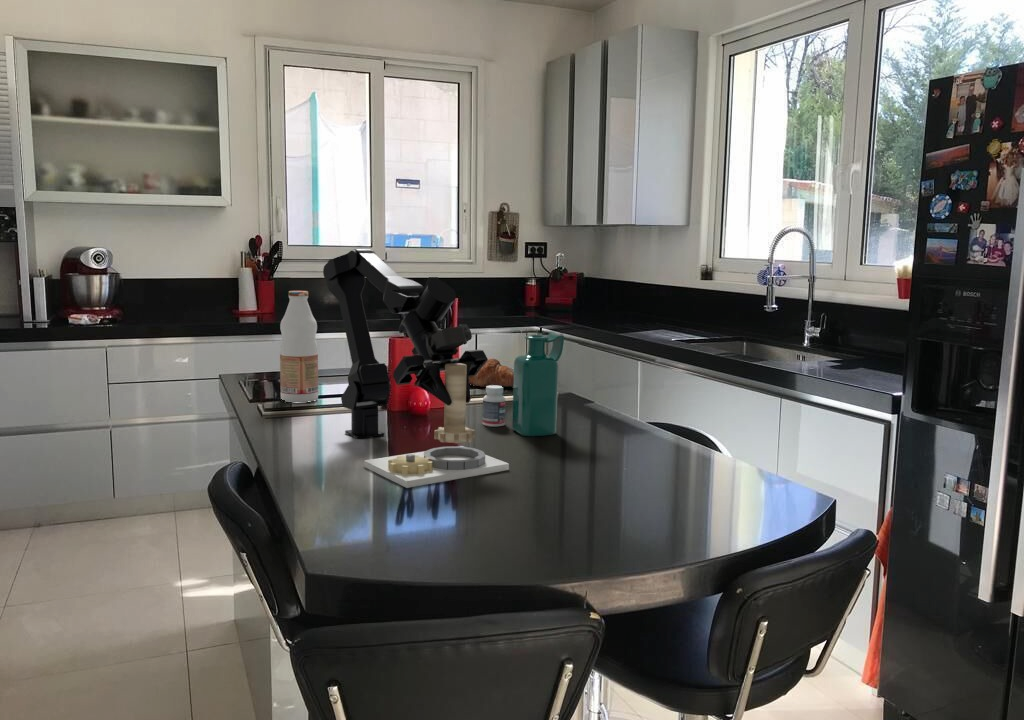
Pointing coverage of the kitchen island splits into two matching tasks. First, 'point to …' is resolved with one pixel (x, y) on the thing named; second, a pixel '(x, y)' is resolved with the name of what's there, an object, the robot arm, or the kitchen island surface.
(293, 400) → the fruit juice
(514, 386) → the pitcher
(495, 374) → the pastry
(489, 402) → the pill bottle
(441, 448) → the gear board
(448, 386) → the disc
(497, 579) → the kitchen island surface
